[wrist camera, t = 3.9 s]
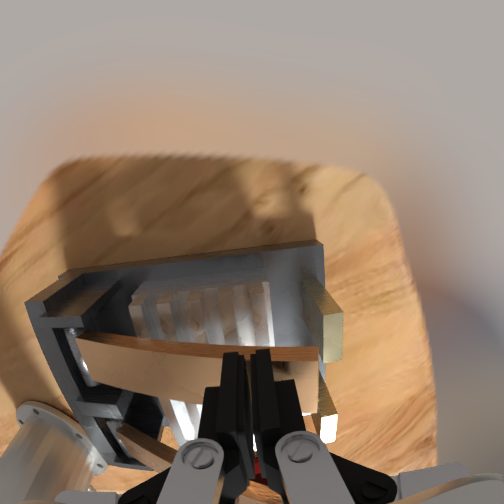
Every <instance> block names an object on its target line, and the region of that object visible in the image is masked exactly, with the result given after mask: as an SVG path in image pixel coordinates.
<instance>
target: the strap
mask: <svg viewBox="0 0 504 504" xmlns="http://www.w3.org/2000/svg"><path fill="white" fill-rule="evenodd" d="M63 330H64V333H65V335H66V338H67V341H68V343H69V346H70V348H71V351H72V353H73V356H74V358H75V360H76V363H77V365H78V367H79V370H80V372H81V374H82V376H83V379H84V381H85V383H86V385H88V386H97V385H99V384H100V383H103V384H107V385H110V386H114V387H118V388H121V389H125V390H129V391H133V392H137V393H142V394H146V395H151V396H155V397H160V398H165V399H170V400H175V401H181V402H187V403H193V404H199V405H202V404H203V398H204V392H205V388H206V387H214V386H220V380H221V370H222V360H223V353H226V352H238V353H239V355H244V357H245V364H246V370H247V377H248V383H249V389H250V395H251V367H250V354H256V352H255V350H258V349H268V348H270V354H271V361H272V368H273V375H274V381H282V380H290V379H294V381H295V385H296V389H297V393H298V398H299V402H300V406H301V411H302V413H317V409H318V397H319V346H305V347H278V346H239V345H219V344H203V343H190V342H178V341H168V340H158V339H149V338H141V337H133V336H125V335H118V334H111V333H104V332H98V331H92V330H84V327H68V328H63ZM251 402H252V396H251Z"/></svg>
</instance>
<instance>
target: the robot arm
mask: <svg viewBox="0 0 504 504" xmlns="http://www.w3.org/2000/svg"><path fill="white" fill-rule="evenodd" d="M255 352H256V354H250V367H251V395H250V389H249V383H248V377H247V370H246V364H245V357H244V355H239V353H238V352H226V353H223V360H222V370H221V380H220V386H214V387H206V388H205V392H204V398H203V404H202V411H201V417H200V423H199V430H198V436H197V439H193V440H190V441H188V442H186V443H184V444H183V445H182V446H181V447H180V448H179V450H178V451H177V453H176V456H175V458H174V461H173V463H172V466H171V467H169V468H167V469H166V470H164V471H162V472H161V473H159V474H157V475H155V476H154V477H152V478H150V479H148V480H147V481H145V482H143V483H141V484H139V485H137V486H136V487H134V488H132V489H130V490H128V491H126V492H125V493H124V494H117V493H116V492H97V491H96V490H95V489H94V488H93V487H92V485H90V483H91V481H92V478H93V476H97V475H101V474H103V473H105V471H106V469H107V466H108V465H107V463H106V462H105V461H104V459H103V458H102V456H101V455H100V454H99V452H98V451H97V449H96V448H95V446H94V445H93V443H92V442H91V440H90V439H89V437H88V436H87V434H86V433H85V431H84V430H83V428H82V426H81V425H80V424H79V423H77V422H76V421H74V420H73V419H72V418H70V417H69V416H67V415H66V414H64V413H62V412H61V411H59V410H57V409H55V408H53V407H51V406H49V405H46V404H44V403H40V402H36V401H26V402H23V403H22V404H21V405H20V406H19V408H18V409H17V412H16V417H17V421H18V424H19V426H20V429H19V431H18V432H17V434H16V435H15V437H14V438H13V440H12V441H11V443H10V444H9V446H8V447H7V449H6V450H5V452H4V453H3V455H2V456H1V458H0V504H239V496H240V495H241V494H242V493H243V492H245V491H246V490H247V487H249V486H250V479H255V458H254V439H255V445H256V450H257V455H258V461H259V466H260V471H261V476H262V478H267V482H268V488H269V489H271V490H273V491H274V492H276V493H278V494H279V495H280V499H281V502H282V504H504V476H503V475H500V474H479V475H472V476H470V472H469V470H468V468H467V467H466V466H464V465H463V464H461V463H457V462H455V463H448V464H444V465H440V466H435V467H430V468H425V469H420V470H415V471H409V472H402V473H399V475H398V476H388V475H386V474H384V473H381V472H378V471H375V470H373V469H370V468H367V467H365V466H362V465H359V464H357V463H354V462H352V461H349V460H347V459H344V458H342V457H340V456H337V455H335V454H333V453H330V452H329V451H328V449H327V447H326V445H325V443H324V441H323V440H322V439H321V437H320V436H318V435H317V434H315V433H312V432H309V431H306V429H305V424H304V420H303V415H302V411H301V406H300V402H299V398H298V393H297V389H296V385H295V381H294V379H290V380H282V381H274V375H273V368H272V361H271V354H270V348H268V349H258V350H255ZM251 396H252V402H251Z"/></svg>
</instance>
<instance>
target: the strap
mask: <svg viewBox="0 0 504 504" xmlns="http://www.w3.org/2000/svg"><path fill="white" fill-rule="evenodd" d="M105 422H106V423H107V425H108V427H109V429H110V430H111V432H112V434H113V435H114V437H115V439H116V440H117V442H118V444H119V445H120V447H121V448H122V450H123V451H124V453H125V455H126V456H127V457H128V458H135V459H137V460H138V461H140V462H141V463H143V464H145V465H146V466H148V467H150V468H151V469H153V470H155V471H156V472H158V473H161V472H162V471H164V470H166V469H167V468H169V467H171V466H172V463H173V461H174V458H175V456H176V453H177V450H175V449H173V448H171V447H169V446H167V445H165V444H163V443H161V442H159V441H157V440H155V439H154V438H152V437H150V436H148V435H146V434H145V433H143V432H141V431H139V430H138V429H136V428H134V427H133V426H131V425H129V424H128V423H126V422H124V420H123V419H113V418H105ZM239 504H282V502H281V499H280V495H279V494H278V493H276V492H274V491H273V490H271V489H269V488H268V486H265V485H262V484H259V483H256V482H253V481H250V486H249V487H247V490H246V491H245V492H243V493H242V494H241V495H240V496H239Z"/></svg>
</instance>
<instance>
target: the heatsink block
mask: <svg viewBox="0 0 504 504" xmlns="http://www.w3.org/2000/svg"><path fill="white" fill-rule="evenodd" d="M58 278H59V280H57V281H56V282H54V283H53V284H51V285H50V286H48V287H47V288H45V289H44V290H42V291H41V292H39V293H38V294H36V295H35V296H33V297H32V298H30V299H29V300H27V301H26V302H24V303H25V306H26V309H27V312H28V315H29V318H30V321H31V323H32V326H33V329H34V332H35V334H36V337H37V339H38V342H39V344H40V347H41V349H42V351H43V354H44V356H45V358H46V360H47V363H48V365H49V367H50V369H51V371H52V373H53V376H54V378H55V380H56V382H57V384H58V386H59V388H60V389H61V391H62V393H63V395H64V397H65V399H66V401H67V403H68V404H69V406H70V408H71V410H72V411H73V413H74V415H75V417H76V418H77V420H78V422H79V423H80V425H81V426H82V428H83V430H84V431H85V433H86V434H87V436H88V437H89V439H90V440H91V442H92V443H93V445H94V446H95V448H96V449H97V451H98V452H99V454H100V455H101V456H102V458H103V459H104V461H105V462H106V463H107V465H112V466H117V467H123V468H130V469H139V470H149V471H154V470H153V469H151V468H150V467H148V466H146V465H145V464H143V463H141V462H140V461H138V460H137V459H135V458H128V457H127V456H126V455H125V453H124V451H123V450H122V448H121V447H120V445H119V444H118V442H117V440H116V439H115V437H114V435H113V434H112V432H111V430H110V429H109V427H108V425H107V423H106V422H105V418H113V419H123V420H124V422H126V423H128V424H129V425H131V426H133V427H134V428H136V429H138V430H139V431H141V432H143V433H145V434H146V435H148V436H150V437H152V438H154V439H155V440H157V441H159V442H160V441H161V437H162V433H163V429H164V426H170V428H171V430H172V432H173V435H174V437H175V439H176V441H177V443H178V446H179V448H180V447H181V446H182V445H183V444H184V443H186V442H188V441H190V440H193V439H197V436H198V430H199V423H200V417H201V411H202V405H199V404H193V403H187V402H181V401H175V400H170V399H165V398H160V397H155V396H151V395H146V394H142V393H137V392H133V391H129V390H125V389H121V388H118V387H114V386H110V385H107V384H103V383H100V384H99V385H97V386H88V385H86V383H85V381H84V379H83V376H82V374H81V372H80V370H79V367H78V365H77V363H76V360H75V358H74V356H73V353H72V351H71V348H70V346H69V343H68V341H67V338H66V335H65V333H64V330H63V328H68V327H84V330H92V331H98V332H104V333H111V334H118V335H125V336H133V337H141V338H149V339H158V340H168V341H178V342H190V343H203V344H219V345H239V346H278V347H305V346H319V397H318V409H317V413H302V415H303V416H304V415H309V414H311V416H312V419H313V423H314V426H315V429H316V433H317V435H318V436H320V437H321V439H322V440H323V441H324V443H328V442H332V441H335V435H336V427H337V417H338V413H337V411H336V408H335V406H334V404H333V401H332V399H331V396H330V394H329V391H328V389H327V387H326V384H325V363H329V362H334V361H339V360H342V347H343V311H342V310H341V308H340V307H339V306H338V304H337V303H336V302H335V301H334V299H333V298H332V297H331V295H330V294H329V293H328V292H327V290H326V289H325V272H324V250H323V244H322V243H320V242H319V241H318V240H310V241H302V242H293V243H285V244H276V245H268V246H259V247H251V248H243V249H234V250H226V251H218V252H210V253H201V254H193V255H185V256H177V257H169V258H161V259H153V260H145V261H137V262H129V263H121V264H113V265H105V266H97V267H89V268H81V269H73V270H68V271H66V272H64V273H63V274H61V275H59V276H58ZM254 451H257V450H256V445H255V439H254Z"/></svg>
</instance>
